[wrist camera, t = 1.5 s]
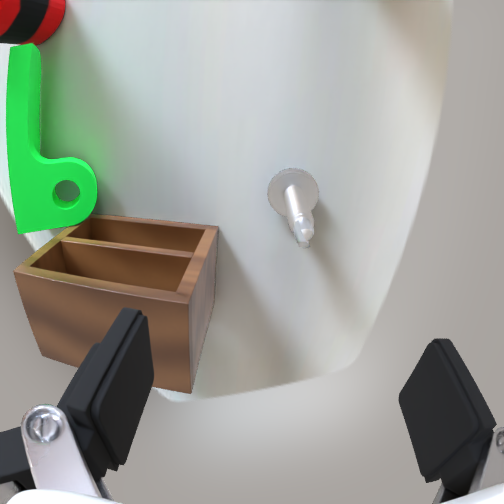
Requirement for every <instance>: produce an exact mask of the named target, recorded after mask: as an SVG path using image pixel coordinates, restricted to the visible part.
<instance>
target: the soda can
mask: <svg viewBox="0 0 504 504" xmlns="http://www.w3.org/2000/svg"><path fill="white" fill-rule="evenodd" d="M64 12H65V0H0V43H8V44H20V45H24V44H29V43H33V44H34V45H38V44H40V43H42V42H44V41H45V40H47V39H48V38H49V37H50V36H51V35H52V34H53V33H54V32H55V30H56V29H57V28H58V26H59V24H60V23H61V21H62V18H63V16H64Z"/></svg>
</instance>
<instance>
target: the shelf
mask: <svg viewBox="0 0 504 504" xmlns="http://www.w3.org/2000/svg"><path fill="white" fill-rule="evenodd" d="M217 242H218V226H210V225H201V224H191V223H182V222H172V221H163V220H153V219H142V218H132V217H122V216H111V215H100V214H90V215H89V216H88V217H87V218H86V219H85V220H83V221H82V222H80V223H78V224H76V225H72V226H69V227H67V228H66V229H65V230H63V231H62V232H61V233H59V234H58V235H57V236H55V237H54V238H53V239H52V240H50V241H49V242H48V243H46V244H45V245H44V246H43V247H41V248H40V249H39V250H38V251H36V252H35V253H34V254H33V255H31V256H30V257H29V258H28V259H27V260H25V261H24V262H23V263H22V264H21V265H19V266H18V267H17V268H16V269H15V270H14V271H13V272H14V275H15V279H16V283H17V286H18V290H19V293H20V296H21V299H22V303H23V306H24V309H25V312H26V315H27V318H28V320H29V323H30V326H31V329H32V331H33V334H34V336H35V339H36V342H37V344H38V347H39V349H40V352H41V354H42V356H45V357H47V358H50V359H53V360H56V361H59V362H62V363H65V364H68V365H71V366H74V367H78V368H79V367H80V365H81V363H82V362H83V360H84V358H85V357H86V355H87V354H88V352H89V350H90V349H91V347H92V346H93V345H94V344H95V343H101V342H102V340H103V338H104V337H105V335H106V334H107V332H108V330H109V329H110V327H111V325H112V324H113V322H114V321H115V319H116V317H117V316H118V314H119V313H120V311H121V310H122V308H124V307H127V308H132V309H137V310H141V311H142V313H143V315H144V316H147V318H148V326H149V335H150V344H151V353H152V360H153V368H154V381H153V385H152V387H156V388H161V389H167V390H172V391H177V392H183V393H189V394H191V393H192V389H193V385H194V380H195V376H196V372H197V368H198V364H199V360H200V356H201V352H202V348H203V344H204V340H205V336H206V333H207V329H208V325H209V321H210V317H211V313H212V309H213V306H214V295H215V276H216V258H217Z"/></svg>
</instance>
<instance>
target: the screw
mask: <svg viewBox="0 0 504 504" xmlns="http://www.w3.org/2000/svg"><path fill="white" fill-rule="evenodd" d="M318 197H319V189H318V185H317V183H316V181H315V179H314V178H313V177H312V176H311V175H310V174H309V173H308V172H306V171H304V170H302V169H298V168H288V169H284V170H282V171H280V172H279V173H277V174H276V175H275V176H274V177H273V178H272V179H271V181H270V183H269V186H268V200H269V203H270V205H271V207H272V208H273V209H274V210H275V211H276V212H277V213H278V214H280V215H282V216H284V217H287V220H288V225H289V228H290V230H291V232H293V233H294V235H295V239H296V242H297V244H298V245H299V246H300V247H302V248H308V247H310V245H309V242H308V240H309V239H311V238H312V236H313V234H314V230H313V229H314V218H313V215H312V213H311V210H313V208H314V207H315V205H316V203H317V201H318Z"/></svg>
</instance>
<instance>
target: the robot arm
mask: <svg viewBox="0 0 504 504" xmlns="http://www.w3.org/2000/svg"><path fill="white" fill-rule="evenodd" d="M153 381H154V368H153V360H152V353H151V344H150V335H149V326H148V318H147V316H144V315H143V313H142V311H141V310H137V309H132V308H127V307H124V308H122V310H121V311H120V313H119V314H118V316H117V317H116V319H115V321H114V322H113V324H112V325H111V327H110V329H109V330H108V332H107V334H106V335H105V337H104V338H103V340H102V342H101V343H95V344H94V345H93V346H92V347H91V349H90V350H89V352H88V354H87V355H86V357H85V358H84V360H83V362H82V363H81V365H80V367H79V368H78V370H77V372H76V373H75V375H74V377H73V379H72V380H71V382H70V384H69V386H68V387H67V389H66V391H65V393H64V394H63V396H62V398H61V400H60V401H59V403H58V405H57V407H56V406H53V405H49V404H41V405H37V406H34V407H32V408H31V409H29V410H28V411H27V412H26V413H25V415H24V416H23V418H22V422H21V426H20V427H17V428H14V429H11V430H7V431H4V432H0V504H123V503H119V502H115V501H114V500H113V498H112V496H111V494H110V492H109V490H108V488H107V486H106V484H105V482H104V480H103V478H102V477H104V476H105V474H106V471H107V468H108V469H111V470H114V471H117V470H118V467H119V464H120V465H124V464H125V462H126V460H127V457H128V454H129V451H130V447H131V444H132V442H133V439H134V436H135V433H136V430H137V427H138V424H139V421H140V418H141V415H142V413H143V410H144V407H145V404H146V401H147V398H148V396H149V393H150V390H151V387H152V385H153ZM399 404H400V407H401V410H402V413H403V416H404V419H405V422H406V425H407V429H408V432H409V435H410V438H411V442H412V445H413V448H414V451H415V455H416V459H417V462H418V466H419V469H420V473H421V475H422V476H424V477H425V481H426V483H429V482H433V481H436V480H439V479H440V478H441V480H442V484H441V486H440V488H439V490H438V493H437V495H436V497H435V499H434V501H433V503H432V504H504V427H500V428H498V429H497V430H496V431H495V432H493V430H492V429H493V428H494V427H495V426H496V425H497V424H496V422H495V419H494V417H493V415H492V414H491V411H490V409H489V407H488V406H487V404H486V402H485V400H484V398H483V396H482V394H481V392H480V390H479V389H478V387H477V385H476V383H475V381H474V379H473V377H472V376H471V374H470V372H469V370H468V369H467V367H466V365H465V363H464V362H463V360H462V358H461V357H460V355H459V353H458V352H457V350H456V348H455V347H454V345H453V343H452V342H451V341H450V340H449V339H434V340H433V341H432V342H431V343H429V344H428V346H427V347H426V349H425V351H424V353H423V355H422V356H421V358H420V360H419V362H418V364H417V365H416V367H415V369H414V371H413V372H412V374H411V376H410V377H409V379H408V381H407V382H406V384H405V386H404V387H403V389H402V390H401V392H400V394H399Z"/></svg>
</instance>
